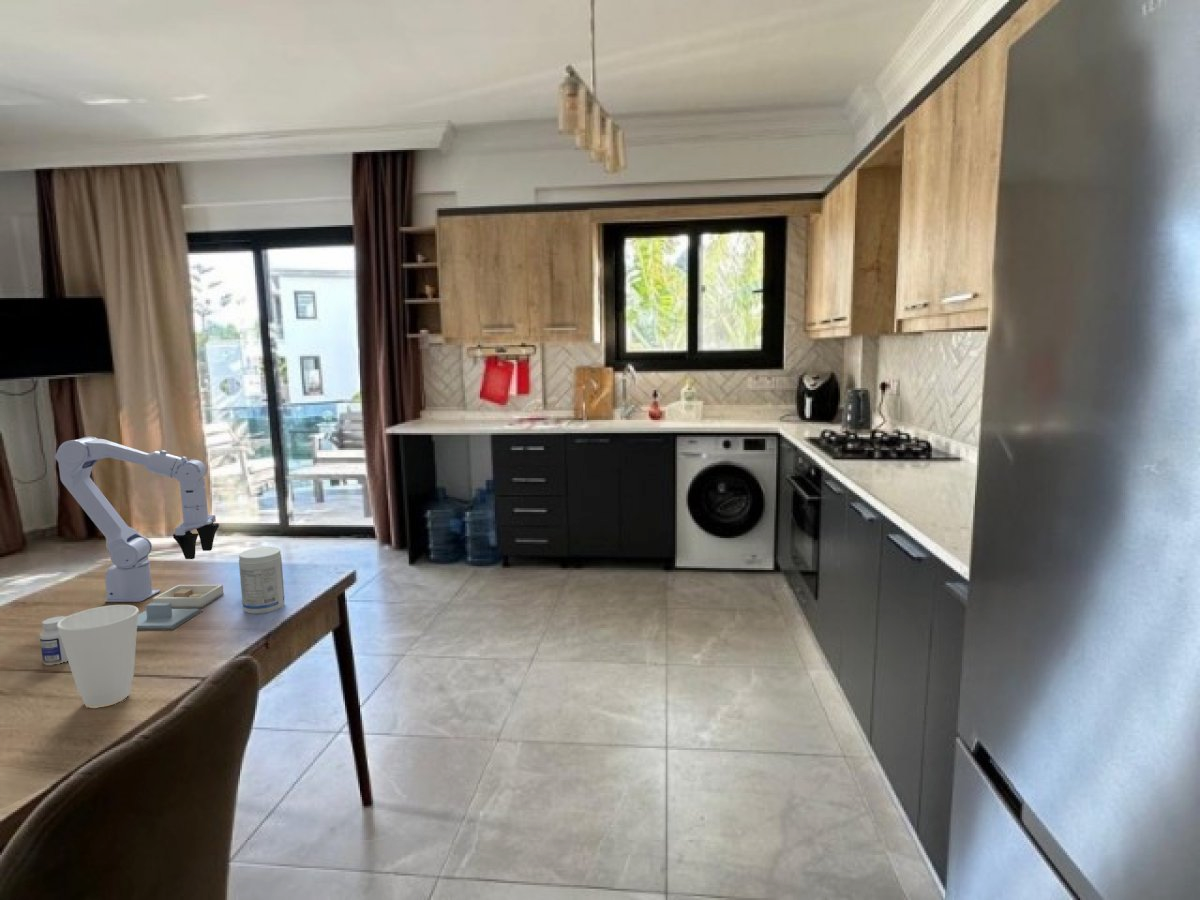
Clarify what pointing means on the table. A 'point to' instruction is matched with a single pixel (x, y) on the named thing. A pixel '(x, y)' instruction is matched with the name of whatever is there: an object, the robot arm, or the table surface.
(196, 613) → the mat
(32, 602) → the table surface
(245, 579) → the supplement tub
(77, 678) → the cup
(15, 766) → the table surface
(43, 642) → the pill bottle
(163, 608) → the lid
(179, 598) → the storage box
